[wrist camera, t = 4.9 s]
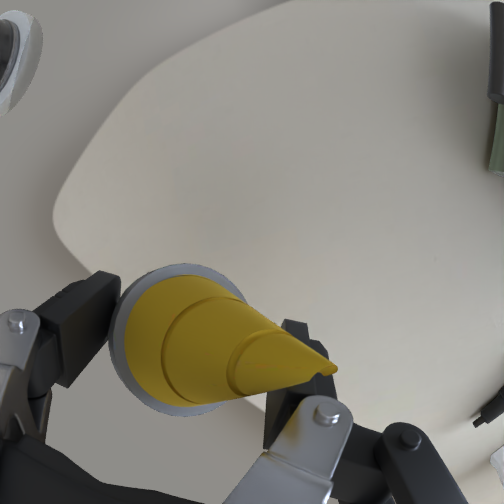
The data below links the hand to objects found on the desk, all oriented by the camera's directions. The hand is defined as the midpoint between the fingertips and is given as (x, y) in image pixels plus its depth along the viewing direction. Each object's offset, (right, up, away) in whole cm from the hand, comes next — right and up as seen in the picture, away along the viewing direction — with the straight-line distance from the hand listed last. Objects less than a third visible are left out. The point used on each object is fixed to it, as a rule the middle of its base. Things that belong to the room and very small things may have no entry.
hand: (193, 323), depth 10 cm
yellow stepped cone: (0, +1, +3) cm, 3 cm away
